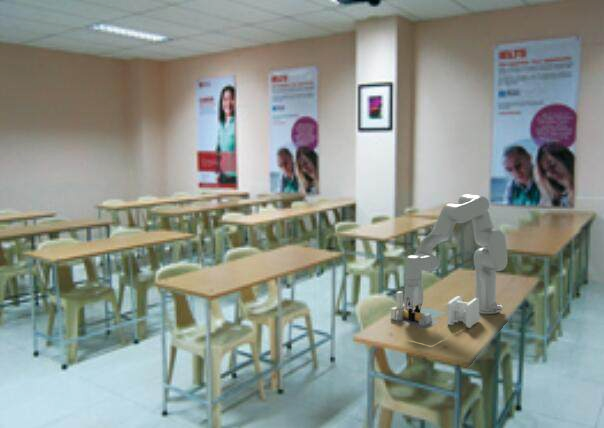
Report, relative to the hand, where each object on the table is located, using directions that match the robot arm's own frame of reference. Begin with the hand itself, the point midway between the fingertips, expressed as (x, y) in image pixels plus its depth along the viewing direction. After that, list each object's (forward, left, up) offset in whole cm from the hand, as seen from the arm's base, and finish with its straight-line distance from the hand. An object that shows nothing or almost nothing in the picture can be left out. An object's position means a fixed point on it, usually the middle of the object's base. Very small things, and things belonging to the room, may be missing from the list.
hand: (414, 318), depth 243 cm
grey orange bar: (0, 0, -1) cm, 1 cm away
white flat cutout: (+8, 0, -1) cm, 8 cm away
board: (0, 0, -1) cm, 1 cm away
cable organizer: (-19, -11, -2) cm, 22 cm away
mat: (+3, -13, -1) cm, 13 cm away
